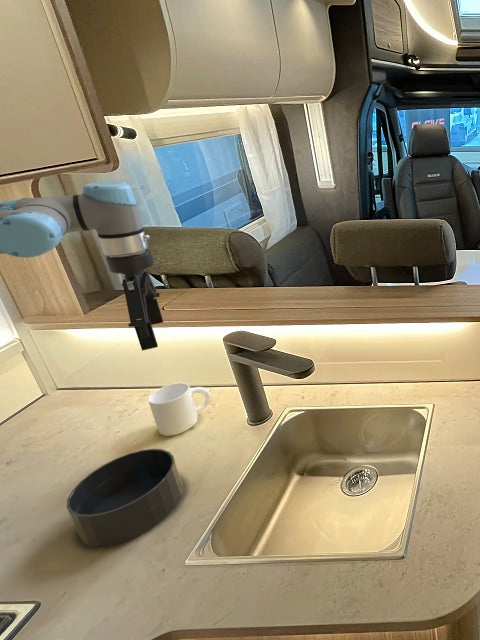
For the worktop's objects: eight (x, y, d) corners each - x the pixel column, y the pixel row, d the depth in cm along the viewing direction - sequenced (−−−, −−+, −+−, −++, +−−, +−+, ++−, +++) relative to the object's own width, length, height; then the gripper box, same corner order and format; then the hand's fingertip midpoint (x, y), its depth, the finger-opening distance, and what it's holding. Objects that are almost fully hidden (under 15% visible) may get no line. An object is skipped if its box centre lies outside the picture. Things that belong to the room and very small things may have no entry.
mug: (210, 403, 116) (202, 372, 112) (218, 417, 111) (210, 386, 107) (155, 425, 107) (145, 392, 104) (162, 442, 102) (151, 408, 99)
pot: (69, 518, 83) (55, 488, 80) (165, 465, 96) (156, 438, 93) (95, 564, 75) (81, 533, 72) (196, 499, 88) (187, 470, 85)
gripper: (142, 266, 84) (168, 355, 91) (155, 235, 104) (176, 310, 111) (92, 273, 80) (124, 365, 87) (115, 240, 100) (140, 317, 107)
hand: (153, 335), depth 99 cm, fingers open, 13 cm apart
